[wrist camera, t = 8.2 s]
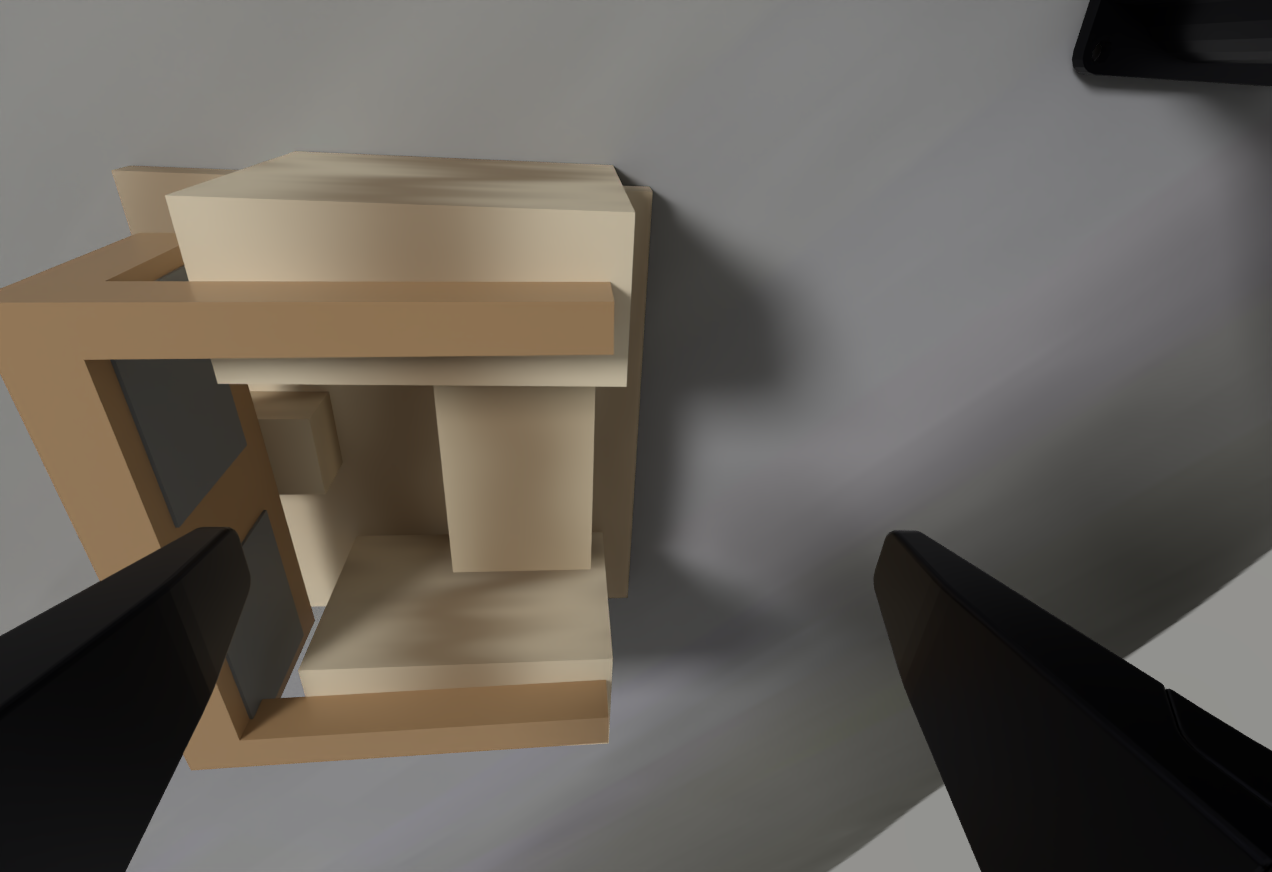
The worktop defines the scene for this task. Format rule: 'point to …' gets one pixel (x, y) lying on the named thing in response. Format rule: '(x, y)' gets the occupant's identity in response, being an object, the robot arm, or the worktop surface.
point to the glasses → (262, 467)
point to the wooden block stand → (436, 411)
